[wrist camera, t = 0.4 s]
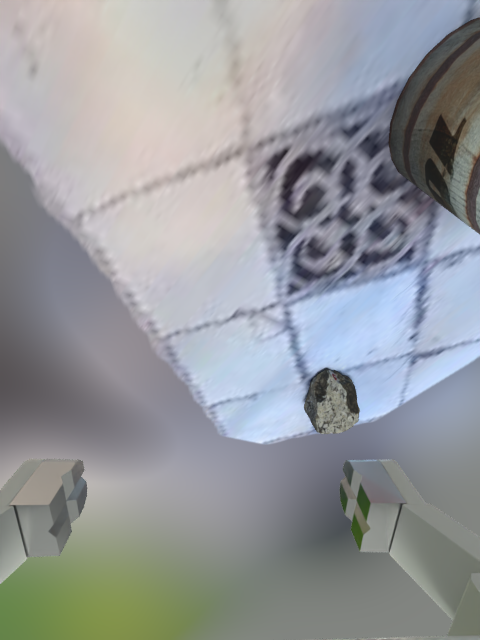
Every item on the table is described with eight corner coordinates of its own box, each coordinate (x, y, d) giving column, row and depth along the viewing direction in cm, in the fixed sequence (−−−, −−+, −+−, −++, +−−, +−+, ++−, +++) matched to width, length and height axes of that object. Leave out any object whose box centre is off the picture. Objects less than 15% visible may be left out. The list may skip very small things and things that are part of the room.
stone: (357, 378, 105) (385, 406, 91) (324, 418, 108) (347, 450, 94) (318, 356, 97) (343, 382, 84) (285, 399, 101) (303, 430, 87)
